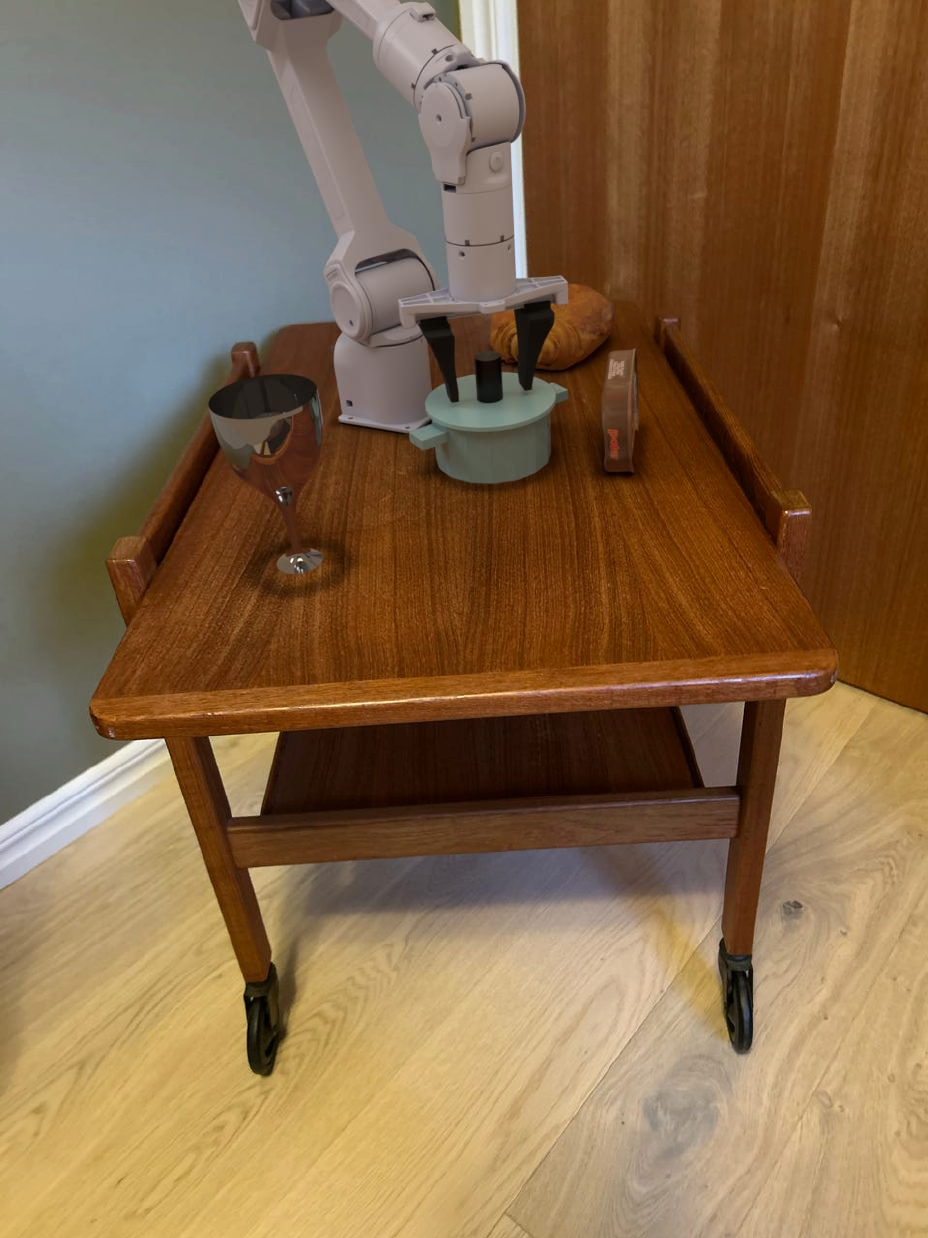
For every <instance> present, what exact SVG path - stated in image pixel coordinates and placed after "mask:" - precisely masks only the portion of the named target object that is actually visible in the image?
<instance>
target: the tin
mask: <svg viewBox="0 0 928 1238" xmlns="http://www.w3.org/2000/svg"><path fill="white" fill-rule="evenodd" d="M639 393H640V392H639V363H638V351H637V348H633V349H622V350H613V351H610V352H609V353H608V355H607V360H606V364H605V370H604V375H603V381H602V389H601V404H600V405H601V406H600V407H601V408H600V409H601V411H600V412H601V428H602V433H603V441H604V459H603V466H604V470H605V471H606V472H607V473H631V474H633V473H635V470H634V466H633V452H634V451H633V450H634V446H635V445H634V444H635V435H636V431H637V432H639V431H640V430H639V428H640V427H639V425H640V424H639V423H640V410H639V409H640V400H639V399H640V396H639V395H640V394H639Z"/></svg>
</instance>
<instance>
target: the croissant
mask: <svg viewBox="0 0 928 1238" xmlns="http://www.w3.org/2000/svg"><path fill="white" fill-rule="evenodd" d="M551 309H552V310H553V312H554V313H555V320H554V325H553V327H552V329H551V330H550V332H549V334H548V336H547V338H546V340H545V342H544V345H543V347H542V350H541V352H540V355H539V358H538V361H537V365H536V369H537V370H546V371H558V372H559V371H563V370H566V369H568V368H570V367H572V366H573V365H575V364H577V363H580V362H582V361H583V360H585V359H586V358H587V357H588V356H590V355H591V354H593V352H594V351H595V350H597V349H598V348H599V347H600V346H601V345H602V344H604V342H605V341H606V340H607V339H608V337H609V336H610V334H611V332H612V330H613V329H614V327H615V324H616V320H617V311H616V309H615V306H614V304H613V303H612V302H611V300H608V299H607V298H606V296H604V295H603V294H602V293H599V292H597V291H596V290H594V289H593V288H592V287H590V286H588V285H587V284H586V285H585V284H578V283H568V304H564V305H555V303H553V304H551ZM489 323H490V327H489V330H490V335H489V336H490V337H489V344H490V346H491V348H492V351H495V352H498V353H500V354H501V361H502V360H504V362H505V363H506V364H514V363H516V362H517V363H518V341H517V331H516V322H515V314H514V309H513V310H507V311H502V312H497V313H493V315H492V316H491V318H490V319H489Z"/></svg>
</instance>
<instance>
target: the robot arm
mask: <svg viewBox="0 0 928 1238" xmlns="http://www.w3.org/2000/svg"><path fill="white" fill-rule="evenodd" d="M237 2H238V4H239V7H240V11H241V12H242V16H243V18H244V21H245V23H246V25H247V27H248V30H249V32H250V35H251V37H252V40H253V42H254V43H256V44H258V45H259V46H260V47H262V48H264V49H265V52H266V54H267V57H268V59H269V63H270V65H271V67H272V70H273V73H274V75H275V78H276V81H277V83H278V86H279V89H280V91H281V94H282V96H283V99H284V101H285V104H286V106H287V111H288V112H289V116H290V117H291V120H292V123H293V125H294V127H295V131H296V133H297V136H298V138H299V141H300V143H301V146H302V149H303V152H304V155H305V157H306V160H307V161H308V162H307V163H308V164H309V167H310V169H311V172H312V175H313V177H314V180H315V183H316V186H317V189H318V191H319V193H320V196H321V199H322V202H323V204H324V206H325V209H326V211H327V214H328V217H329V220H330V222H331V224H332V227H333V230H334V232H335V235H336V237H337V240H338V242H337V244H336V246H335V247H334V248H333V251H332V253H331V254H330V256H329V258H328V260H327V262H326V264H325V266H324V269H323V272H322V274H323V276H324V279H325V283H326V287H327V290H328V294H329V303H330V309H331V313H332V316H333V319H334V321H335V322H336V325H337V327H338V328H339V330H340V331H341V333H340V335H339V336H338V337H337V340H336V342H335V346H334V350H333V366H334V373H335V379H336V385H337V391H338V392H337V393H338V397H339V402H340V408H341V415H339V416H338V417H337V418H338V422H340V423H344V424H349V425H355V426H361V427H368V428H373V429H379V430H385V431H391V432H398V433H404V434H409V432H410V431H413V430H416V429H419V428H422V427H425V426H426V425H428V424H429V422H430V421H432V419H431V418H430V417H429V416H428V414H427V413H426V408H425V401H426V399H427V397H428V395H429V394H430V393H431V392H432V391H433V387H432V375H431V368H430V367H431V365H430V358H429V357H430V356H429V347H430V350H431V351H432V353H433V355H434V358H435V360H436V362H437V365H438V367H439V369H440V372H441V376H442V379H443V382H444V383H445V386H446V391H447V395H448V397H449V399H450V401H451V403H454V402H459V391H458V384H457V378H458V377H457V373H456V372H457V371H456V350H455V349H456V346H455V345H456V343H455V342H456V338H455V335H454V333H453V331H452V329H451V323H450V322H449V321H448V320H453V319H459V318H466V317H467V318H468V317H473V316H479V315H490V314H495V313H497V312H502V311H507V310H513V309H514V314H515V322H516V331H517V341H518V362H517V373H518V378H519V383H520V385H521V386H522V388H523V389H524V391H528V390H532V384H533V378H534V377H535V373H536V369H537V368H536V365H537V361H538V358H539V355H540V352H541V350H542V347H543V345H544V342H545V340H546V338H547V336H548V334H549V332H550V330H551V329H552V327H553V325H554V320H555V313H554V312H553V310H552V309H551V304H553V303H555V305H564V304H568V284H569V282H568V280H566V279H565V278H564V277H563V276H562V275H553V276H539V277H517V266H516V265H517V264H516V243H515V242H516V241H515V240H516V239H515V217H514V216H515V215H514V212H515V211H514V190H513V189H514V188H513V169H512V167H513V166H512V165H513V163H512V144H513V143H515V142H516V140H518V139H519V137H520V135H521V134H522V131H523V129H524V126H525V123H526V122H525V121H526V116H527V106H526V104H527V103H526V97H525V93H524V92H525V91H524V89H523V85H522V83H521V81H520V79H519V77H518V76H517V74H516V73H515V71H514V70H512V67H511V65H510V64H509V63H508V62H507V61H505V60H503V59H494V60H488V61H487V60H486V59H484V57H478V58H477V57H476V56H475V55H474V53H472V50H471V49H470V48H469V47H468V46H467V45H466V44H465V43H462V42H461V41H460V40H459V39H458V38H457V37H456V36H455V35H454V34H453V33H452V31H450V30H449V29H448V28H447V27H446V26H445V25H444V24H443V23H442V22H441V21H440V19H438V17H436V14H437V11H436V9H435V8H434V7H433V6H432V5H431V4H430V3H429V2H427V1H425V2H416V1H407V2H403V3H401V1H400V0H237ZM343 19H346V21H348V22H349V23H350V24H351V25H352V26H353V27H355V28H356V30H358V31H359V32H360V33H361V34H362V35H364V37H366V38H367V39H368V40H369V41H370V42H372V58H373V62H374V64H375V67H376V68H377V69H378V71H379V72H380V73H381V74H382V75H383V76H384V77H385V78H386V79H387V81H388V82H389V83H390V84H392V86H393V87H394V88H395V89H396V90H397V91H398V92H399V94H401V95H402V97H403V98H404V99H405V100H406V101H407V102H408V103H409V105H411V106H412V107H413V108H414V110H416V112H418V114H417V118H418V124H419V129H420V132H421V136H422V138H423V140H424V143H425V145H426V146H427V149H428V151H429V154H430V158H431V167H432V173H434V175H435V176H434V177H435V179H436V181H438V182H440V193H441V203H442V204H441V205H442V216H443V229H444V239H445V252H446V253H445V254H446V264H447V277H448V287H443V288H441V286H440V281H439V278H438V275H437V272H436V271H435V268H434V267H433V266H432V264H431V263H430V262H429V261H428V259H427V257H426V256H425V255H424V252H423V251H422V248H421V246H420V243H419V240H418V238H417V237H416V236H415V235H414V234H412V233H410V232H408V231H406V230H405V229H403V228H401V227H399V226H397V225H395V224H393V223H392V222H390V221H389V219H388V215H387V213H386V211H385V207H384V204H383V203H382V199H381V197H380V193H379V191H378V188H377V185H376V182H375V180H374V177H373V175H372V172H371V168H370V167H369V164H368V161H367V159H366V156H365V152H364V150H363V147H362V145H361V142H360V139H359V137H358V134H357V133H358V132H357V131H356V129H355V126H354V123H353V120H352V117H351V114H350V111H349V109H348V106H347V103H346V101H345V98H344V95H343V93H342V90H341V87H340V85H339V82H338V79H337V76H336V74H335V73H336V72H335V71H334V67H333V65H332V62H331V60H330V57H329V54H328V50H327V49H328V48H327V47H328V42H329V39H331V38H332V37H333V36H334V35H335V34H336V33H337V32H338V31H340V29H341V24H342V22H343ZM379 263H380V264H379ZM376 264H378V265H376ZM373 265H374V266H373ZM369 266H371V267H369ZM366 267H368V268H366ZM363 268H365V269H363ZM360 269H361V270H360ZM357 270H358V271H357ZM428 345H429V347H428Z"/></svg>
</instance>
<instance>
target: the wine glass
mask: <svg viewBox="0 0 928 1238" xmlns="http://www.w3.org/2000/svg"><path fill="white" fill-rule="evenodd" d="M207 404H208V405H207V406H208V407H207V408H208V411H209V415H210V420H211V423H212V426H213V430H214V432H215V435H216V439H217V441H218V444H219V446H220V449H221V451H222V453H223V455H224V458H225V459H226V461H227V463H228V464H229V466H230V469H231V470H232V471H233V473H234V474H235V475H236V477H237V478H238V479H239V480H240V481H242V482H243V483H244V484H246V485H247V486H248V487H250V488H251V489H253V490H254V491H257V492H258V493H260V494H261V495H263V496H264V497H266V498H267V499H269V500H270V501H271V502H272V503H273V504H274V505H275V506H276V507H277V509H278V510H279V512H280V514H281V516H282V519H283V522H284V525H285V527H286V531H287V533H288V537H289V540H290V541H289V542H290V545H291V550H290V551H287V552H285V553H284V554H282V555H281V556H280V557H279V558H278V560H277V562H276V568H277V569H278V570H279V571H280V572H281V573H284V574H288V575H300V574H305V573H309V572H310V571H313V570H315V569H316V568H318V567H319V566H321V564H322V563H323V559H324V557H323V554H322V553H321V551H319V550H317V549H315V548H309V547H303V546H302V541H301V538H300V532H299V525H298V502H299V500H300V496H301V494H302V492H303V490H304V489H305V487H306V486H307V484H308V483H309V482H310V480H311V479H312V477H313V476H314V475H315V473H316V471H317V469H318V467H319V465H320V463H321V460H322V456H323V447H324V421H323V413H322V412H323V411H322V404H321V400H320V395H319V390H318V386H317V384H316V383H315V382H314V381H313V380H312V379H310V378H308V377H306V376H303V375H298V374H292V373H271V374H269V373H268V374H262V375H255V376H250V377H246V378H244V379H240V380H236V381H234V382H232V383H230V384H227V385H225V386H223V387H221V388H220V389H218V390H217V391H216V392H214V393H213V394H212V395H211V397H210V398H209V400H208V403H207Z"/></svg>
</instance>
